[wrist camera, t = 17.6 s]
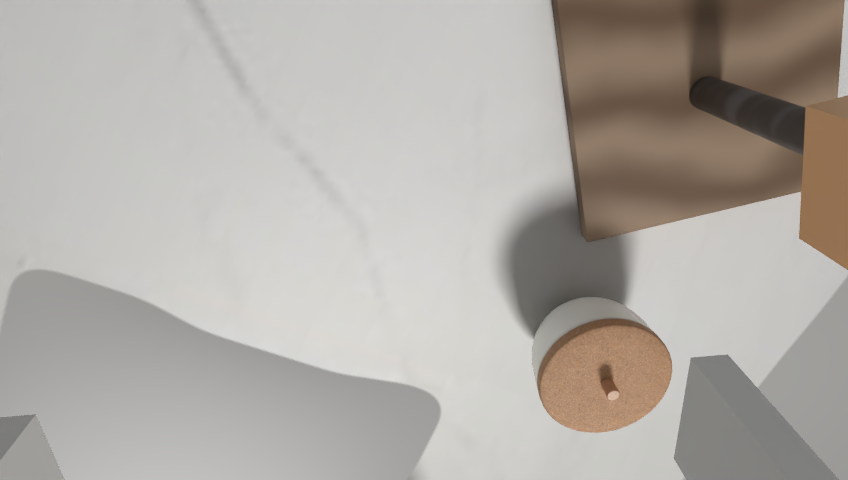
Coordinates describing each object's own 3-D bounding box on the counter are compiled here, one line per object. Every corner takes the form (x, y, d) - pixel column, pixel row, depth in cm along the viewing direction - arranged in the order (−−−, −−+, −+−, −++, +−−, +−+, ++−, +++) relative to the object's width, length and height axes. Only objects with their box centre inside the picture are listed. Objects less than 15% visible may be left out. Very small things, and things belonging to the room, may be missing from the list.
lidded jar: (572, 254, 50) (611, 313, 42) (659, 313, 53) (711, 379, 45) (495, 341, 53) (516, 412, 45) (580, 392, 57) (615, 467, 48)
